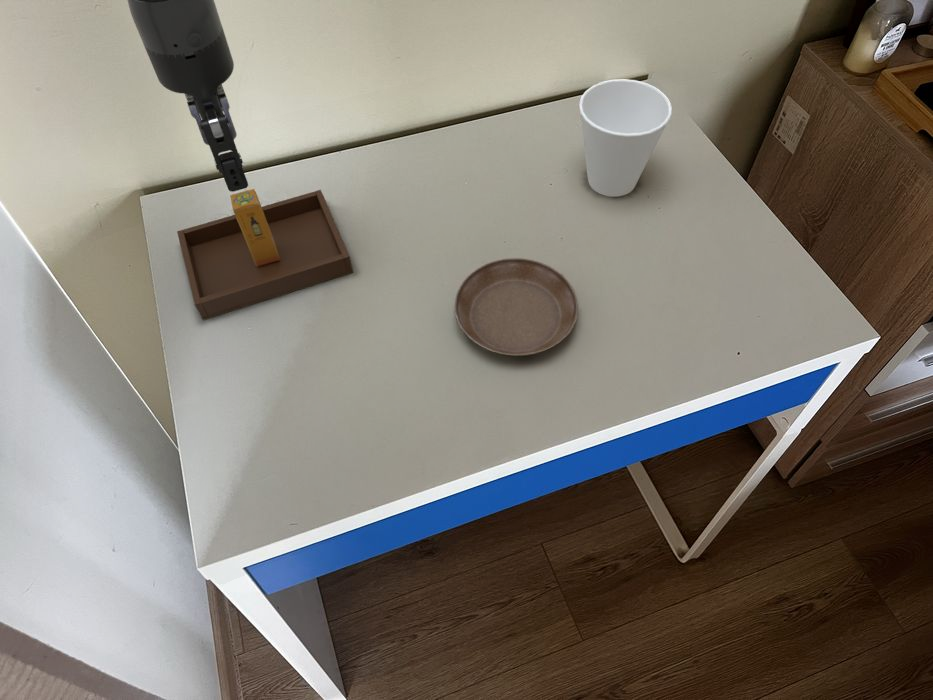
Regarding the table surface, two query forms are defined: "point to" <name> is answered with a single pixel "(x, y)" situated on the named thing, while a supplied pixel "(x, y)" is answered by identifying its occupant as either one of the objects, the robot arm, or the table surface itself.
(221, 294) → the tray
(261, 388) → the table surface
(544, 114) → the table surface
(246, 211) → the supplement box
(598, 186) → the cup
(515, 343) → the saucer
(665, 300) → the table surface
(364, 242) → the table surface
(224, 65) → the robot arm
